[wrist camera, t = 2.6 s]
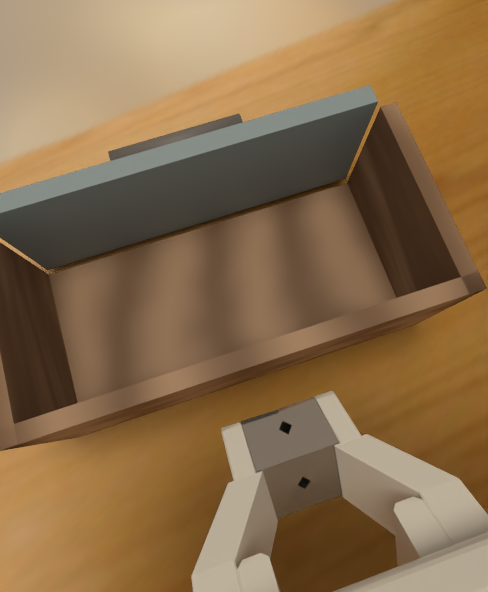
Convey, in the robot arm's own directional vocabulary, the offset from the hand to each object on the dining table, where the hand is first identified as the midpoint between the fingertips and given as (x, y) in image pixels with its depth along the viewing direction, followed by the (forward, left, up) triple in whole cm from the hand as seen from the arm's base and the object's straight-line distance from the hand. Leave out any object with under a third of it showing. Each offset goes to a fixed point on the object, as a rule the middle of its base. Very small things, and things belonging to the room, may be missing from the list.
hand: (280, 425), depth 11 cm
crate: (0, -9, -21) cm, 22 cm away
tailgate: (0, -16, -20) cm, 25 cm away
